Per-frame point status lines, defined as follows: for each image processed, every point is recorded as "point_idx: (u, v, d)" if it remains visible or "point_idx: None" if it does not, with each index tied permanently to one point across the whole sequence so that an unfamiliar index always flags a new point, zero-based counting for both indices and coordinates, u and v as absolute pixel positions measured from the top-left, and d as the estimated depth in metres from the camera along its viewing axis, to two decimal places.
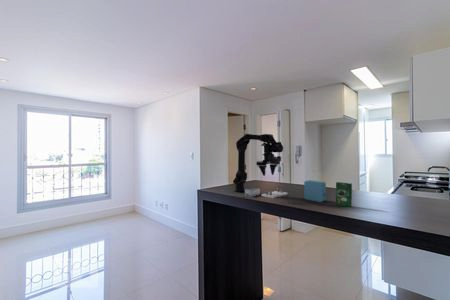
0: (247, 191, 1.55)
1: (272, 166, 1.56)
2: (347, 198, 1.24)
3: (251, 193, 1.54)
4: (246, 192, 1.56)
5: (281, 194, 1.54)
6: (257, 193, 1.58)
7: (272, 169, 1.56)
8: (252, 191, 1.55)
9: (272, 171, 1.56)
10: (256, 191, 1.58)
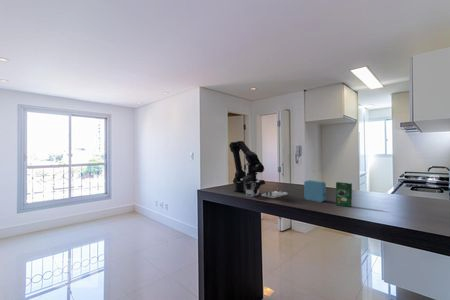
0: (249, 191, 1.54)
1: None
2: (347, 198, 1.24)
3: (253, 193, 1.54)
4: (247, 192, 1.55)
5: (281, 194, 1.54)
6: (257, 192, 1.59)
7: None
8: (253, 191, 1.55)
9: None
10: None
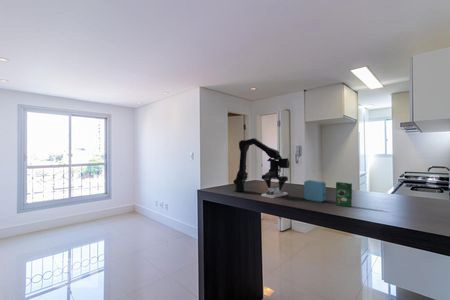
0: (271, 189, 1.54)
1: None
2: (347, 198, 1.24)
3: (275, 191, 1.53)
4: (269, 190, 1.54)
5: (281, 194, 1.54)
6: (279, 191, 1.58)
7: None
8: (276, 189, 1.54)
9: None
10: (278, 188, 1.58)
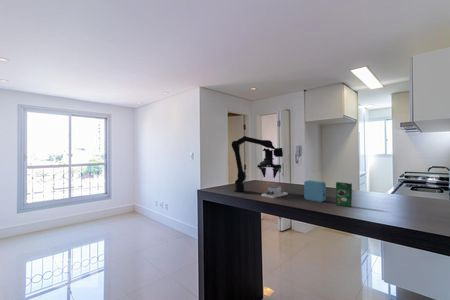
0: (271, 189, 1.54)
1: None
2: (347, 198, 1.24)
3: (275, 191, 1.53)
4: (269, 190, 1.54)
5: (281, 194, 1.54)
6: (279, 191, 1.58)
7: None
8: (276, 189, 1.54)
9: None
10: (278, 188, 1.58)
